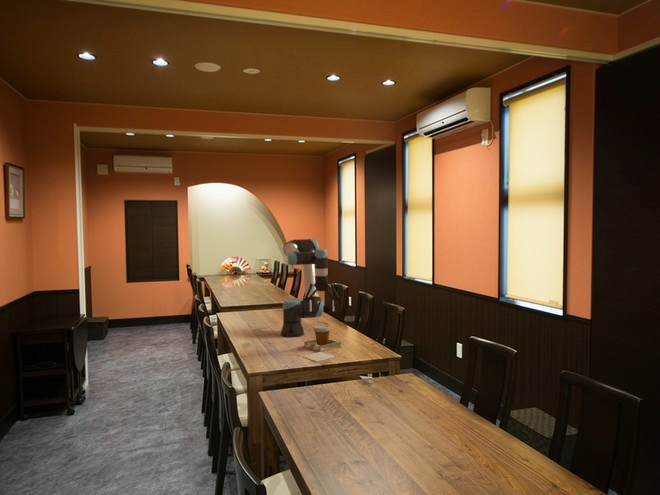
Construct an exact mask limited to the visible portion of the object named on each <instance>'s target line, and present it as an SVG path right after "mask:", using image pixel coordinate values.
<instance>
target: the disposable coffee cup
mask: <svg viewBox="0 0 660 495" xmlns="http://www.w3.org/2000/svg"><path fill="white" fill-rule="evenodd" d="M330 331H331V328H330V326H329V325H325V324H324V325H315V327H314V332H315V339H316V341H317V345H320V346H323V345H327V344H328V340H329V339H330Z"/></svg>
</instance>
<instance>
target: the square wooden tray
mask: <svg viewBox="0 0 660 495" xmlns="http://www.w3.org/2000/svg"><path fill="white" fill-rule="evenodd" d="M303 342H304V346H303V347H304V348H307V349H311V350H313V351H316V352H326V351H330V350H333V349H338V348H341V346H342V344H341V343H342V342H341V341H339V340H335V339H332V338H329V340H328V344H327V345H323V346H320V345H317V341H316V338H314V339H310V340H305V341H303Z"/></svg>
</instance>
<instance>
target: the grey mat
mask: <svg viewBox="0 0 660 495" xmlns="http://www.w3.org/2000/svg"><path fill="white" fill-rule="evenodd" d="M334 357H335V358H336V356H335V355H333V354H330V353H329V354H328V353H326V352H324V351H322V352H320V351H317V352H314V353H311V354H307V355H302V358H304V359H307V360H311V361H313V362H315V363H318V362H319V363H320V362H324V361H327V360H331V359H335V358H334ZM330 358H331V359H330Z"/></svg>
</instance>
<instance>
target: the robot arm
mask: <svg viewBox="0 0 660 495" xmlns="http://www.w3.org/2000/svg"><path fill="white" fill-rule="evenodd" d="M282 251H283V253H284V255H285V256H286V258H287V264H288V265H289V266H300V265H301V266H302V268H303V269H302V270H303V283H304V296H303V299H302V300H301V298H299V297H298V298H296V297H295V298H290V299H287V300H284V301H283V302H282V313H283V314H282V316H283V320H282V321H283V323H282V328H281V331H280V336H281V337H285V338H299V337H301V336H304V335H305V330H304V327H303V324H302V319H313V318H314V319H315V318H321V317H322V316H323V313H324V300H323V299H322V298H321V296H320V295H319V292H326V293H327V294H328V295H329V296H330V298H332V312H335V307H336V305H337V300H339V298H340V297H339V295H338V293H337V290H336V289H335V287H334V283H329V276H328V273H329V272H328V270H329V269H328V267H329V266H328V264H329V262H328V256H329V255H328V250H327V249H325V248H323V249H321V248H320V246H319V242H318V241H317V240H316V239H314V238H313V239H312V238H307V239H306V238H304V239H301V238H300V239H296V238H295V239H291V240H289V241H287V242H285V244H284V245H283V247H282ZM328 288H331V291H330V290H329V289H328ZM332 292H333V293H332ZM333 294H334V295H333Z"/></svg>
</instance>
